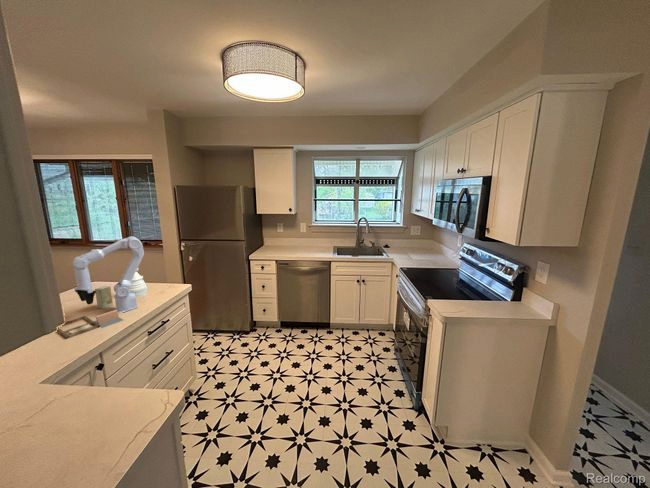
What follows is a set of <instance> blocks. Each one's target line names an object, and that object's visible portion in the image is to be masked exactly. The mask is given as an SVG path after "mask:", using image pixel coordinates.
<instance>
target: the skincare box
mask: <svg viewBox="0 0 650 488" xmlns="http://www.w3.org/2000/svg"><path fill="white" fill-rule="evenodd" d="M94 290H95V291H96V293H95V298H96V306H97V308H98V309H103V310H104V309H106V308H108V307H111V306H113V305H114V304H113V296H112V288H111V285H110V286H109V285H104V286H100V287H97V288H94Z"/></svg>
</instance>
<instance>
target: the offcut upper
mask: <svg viewBox="0 0 650 488" xmlns="http://www.w3.org/2000/svg"><path fill="white" fill-rule="evenodd" d="M91 327H93V325H89V324H88V325H85V326H82V327H80V328H77V329H74V330H71V331H69V333H68V335H71V334H73V333H76V332H79V331H82V330H85V329H88V328H91Z"/></svg>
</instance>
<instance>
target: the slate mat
mask: <svg viewBox="0 0 650 488" xmlns="http://www.w3.org/2000/svg"><path fill="white" fill-rule="evenodd" d="M93 321H94V322H96V323H97V320H93ZM122 321H123V322H124V319H123V318H121V317H119V318H118V319H115V320H112V321H109V322H106V323H103V324H101V325H100V327H99V328H101V329H104V328H106V327H109V326H111V325H114V324H117V323H121V322H122Z"/></svg>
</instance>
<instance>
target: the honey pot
mask: <svg viewBox="0 0 650 488" xmlns="http://www.w3.org/2000/svg"><path fill="white" fill-rule="evenodd" d="M139 269H140V268H139V267H138V268H137V270H136V272H135V274H134V276H133V279H132V281H131V286H130V288H129V290H130V292H129V293H134V294H135V296H136V299H137V298H141V297H144V296H146V295H147V294H148V287H147V284H146V282H145V280H144V275H140V274H139V273H138V272H139Z"/></svg>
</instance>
